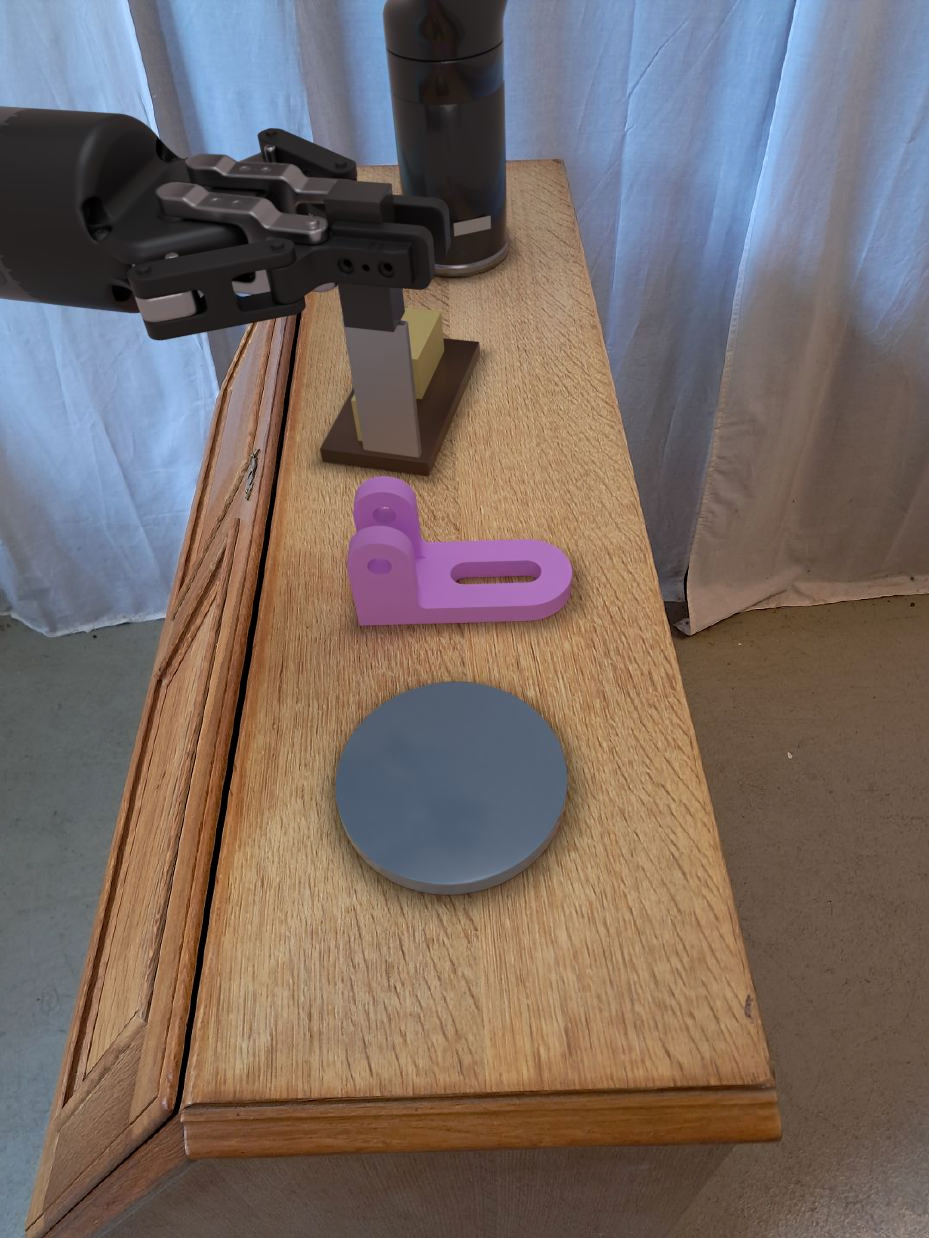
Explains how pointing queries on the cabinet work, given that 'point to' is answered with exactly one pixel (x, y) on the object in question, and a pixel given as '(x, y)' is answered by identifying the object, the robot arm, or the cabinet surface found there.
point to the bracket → (443, 568)
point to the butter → (424, 345)
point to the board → (431, 417)
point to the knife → (377, 334)
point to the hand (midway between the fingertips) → (438, 244)
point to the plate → (451, 787)
